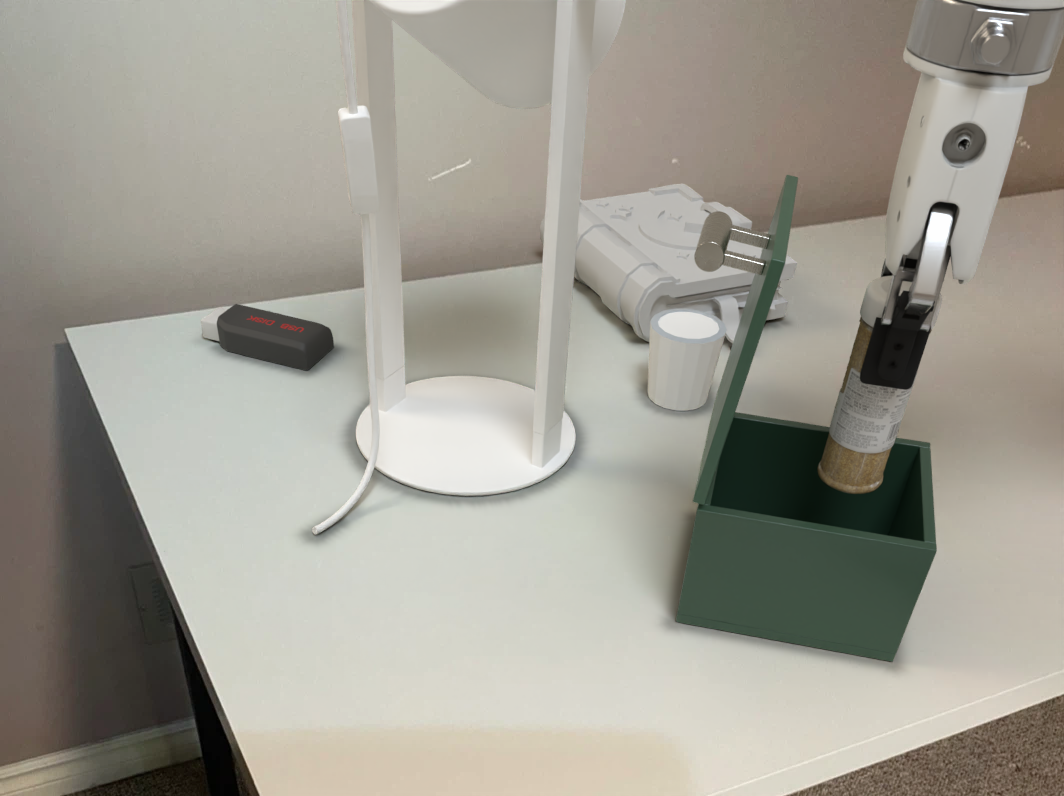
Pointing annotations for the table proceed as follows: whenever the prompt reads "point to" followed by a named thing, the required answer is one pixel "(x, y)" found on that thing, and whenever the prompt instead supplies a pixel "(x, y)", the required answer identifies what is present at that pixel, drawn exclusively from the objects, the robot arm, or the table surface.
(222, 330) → the usb drive
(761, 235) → the lid
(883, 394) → the sprinkles bottle
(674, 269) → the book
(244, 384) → the table surface
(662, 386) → the white cup
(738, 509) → the green box
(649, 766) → the table surface
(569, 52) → the desk lamp
